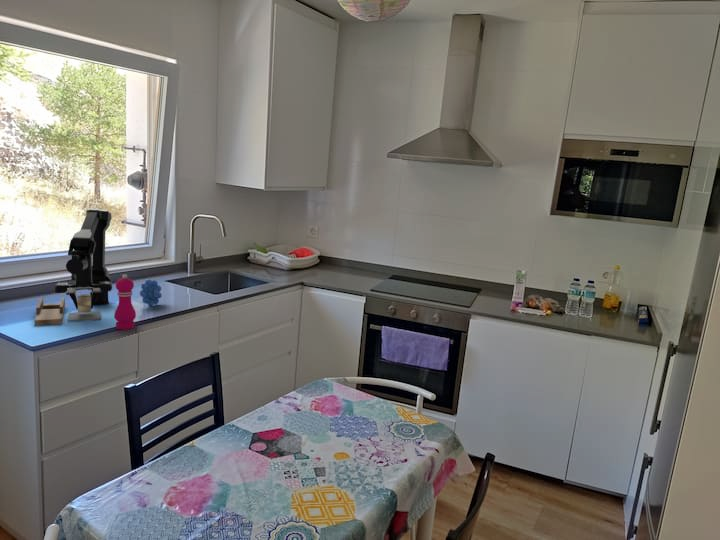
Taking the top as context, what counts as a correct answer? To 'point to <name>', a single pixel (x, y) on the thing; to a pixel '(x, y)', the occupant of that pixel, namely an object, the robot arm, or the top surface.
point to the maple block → (84, 303)
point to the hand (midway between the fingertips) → (84, 308)
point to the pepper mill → (125, 304)
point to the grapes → (150, 292)
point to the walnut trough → (49, 313)
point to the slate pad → (84, 316)
